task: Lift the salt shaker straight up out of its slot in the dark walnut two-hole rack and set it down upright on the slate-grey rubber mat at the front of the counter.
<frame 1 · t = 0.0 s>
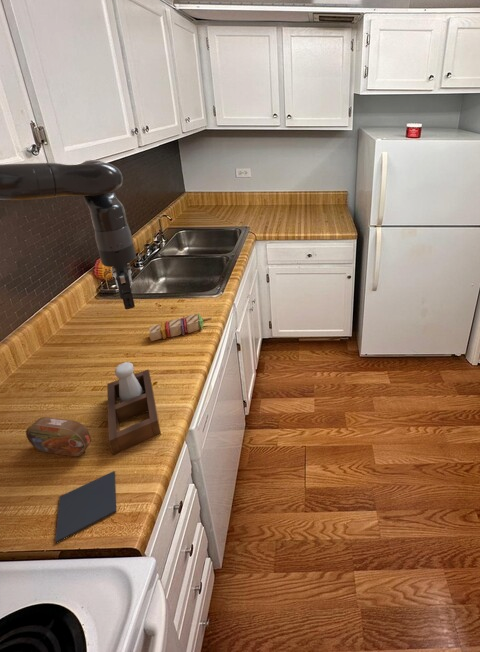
hand: (129, 299, 87), 29 cm above the counter, tool pointing down, fingers open, 8 cm apart
mat: (88, 505, 69), on the counter
rack: (134, 414, 88), on the counter
tin: (64, 448, 80), on the counter
skewer: (182, 332, 120), on the counter
salt shaker: (133, 403, 92), resting in rack
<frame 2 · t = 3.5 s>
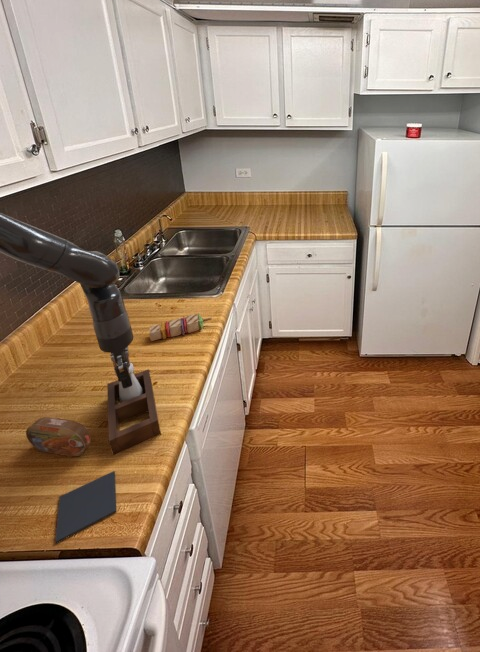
hand: (127, 379, 89), 8 cm above the counter, tool pointing down, fingers closed on salt shaker, 4 cm apart
salt shaker: (133, 403, 92), resting in rack, touching gripper
everything else where it was.
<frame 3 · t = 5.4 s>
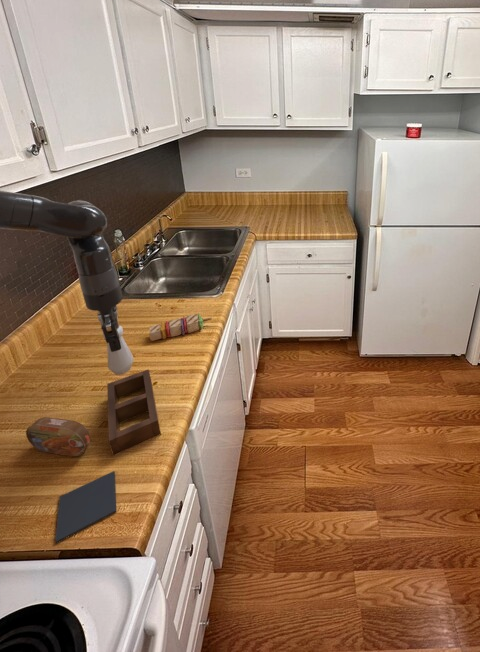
hand: (116, 343, 84), 21 cm above the counter, tool pointing down, fingers closed on salt shaker, 4 cm apart
salt shaker: (122, 369, 87), point 12 cm above the counter, touching gripper
everything else where it was.
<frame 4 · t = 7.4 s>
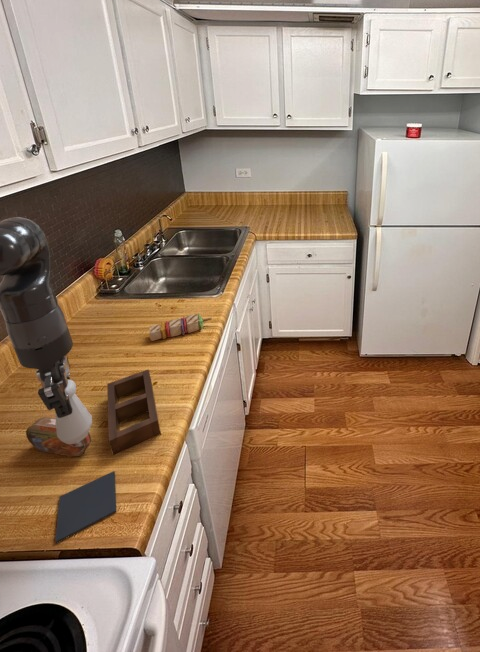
hand: (66, 404, 63), 24 cm above the counter, tool pointing down, fingers closed on salt shaker, 4 cm apart
salt shaker: (78, 435, 67), point 15 cm above the counter, touching gripper
everything else where it was.
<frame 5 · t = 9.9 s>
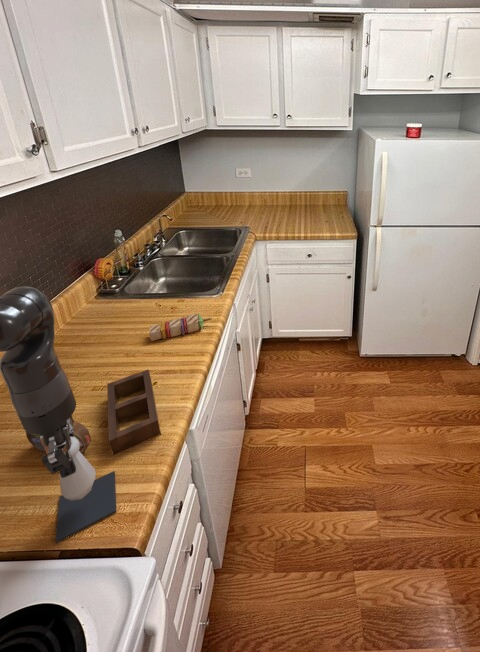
hand: (70, 462, 64), 13 cm above the counter, tool pointing down, fingers closed on salt shaker, 4 cm apart
salt shaker: (81, 489, 67), point 5 cm above the counter, touching gripper
everything else where it was.
when the fingers open (9 cm above the counter, at t = 11.5 s): salt shaker stays where it is, resting on mat.
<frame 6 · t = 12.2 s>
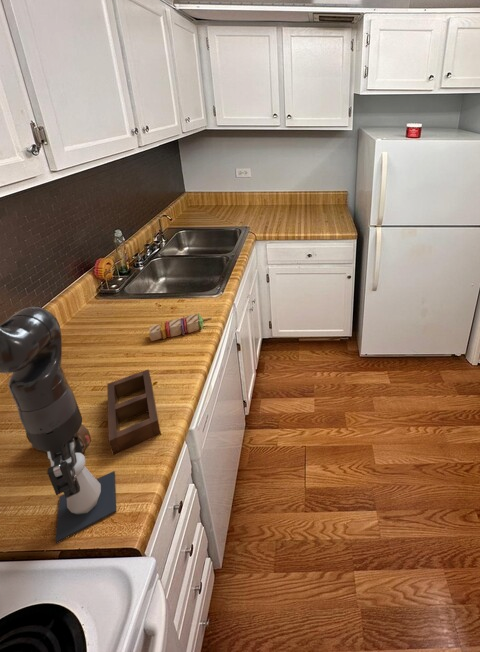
hand: (74, 472, 65), 10 cm above the counter, tool pointing down, fingers open, 8 cm apart
salt shaker: (87, 503, 68), resting on mat
everything else where it was.
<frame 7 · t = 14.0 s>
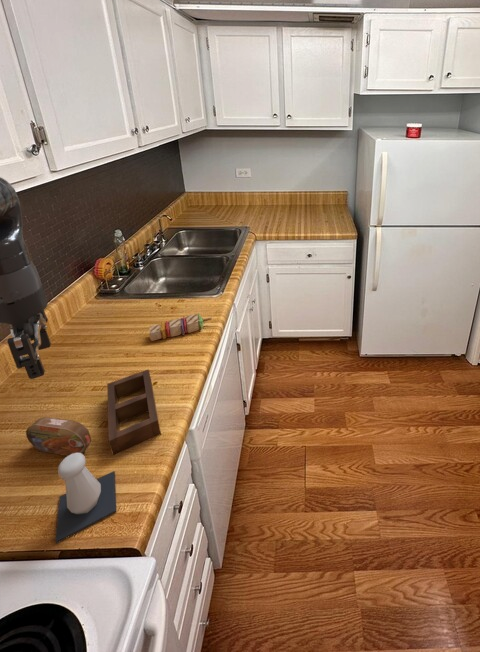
hand: (41, 361, 64), 31 cm above the counter, tool pointing down, fingers open, 8 cm apart
nothing on the counter moved.
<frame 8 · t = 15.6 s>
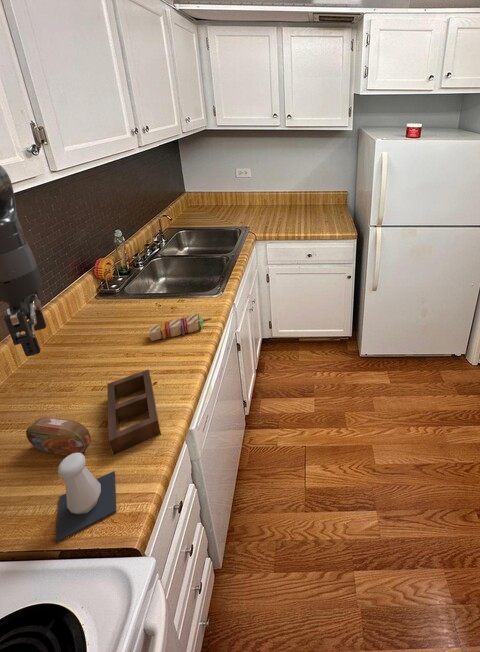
hand: (37, 340, 66), 33 cm above the counter, tool pointing down, fingers open, 8 cm apart
nothing on the counter moved.
at the end: salt shaker inside the target area on the mat (0.1 cm from its centre), point 0.4 cm above the mat's base; salt shaker tilted 0°; the gripper is holding nothing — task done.
